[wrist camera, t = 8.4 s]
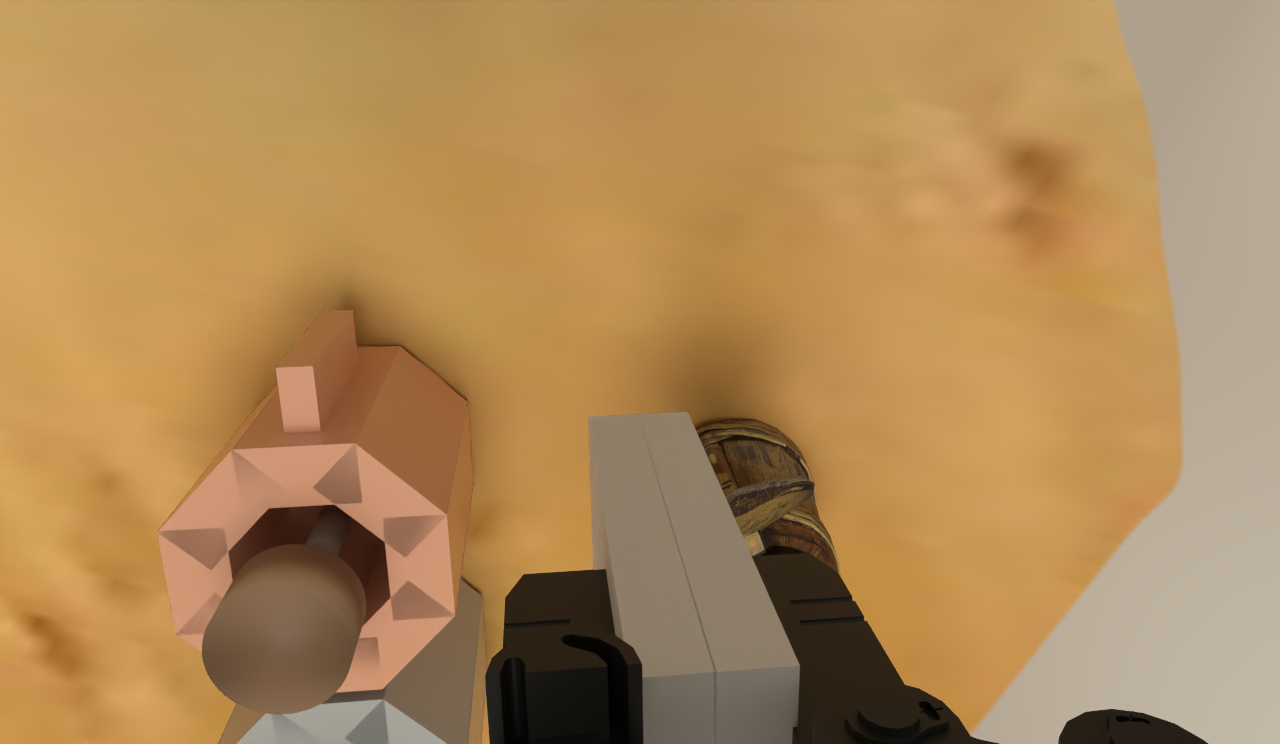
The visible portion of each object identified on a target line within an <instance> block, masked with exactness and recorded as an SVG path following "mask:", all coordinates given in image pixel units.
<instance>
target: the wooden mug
mask: <svg viewBox="0 0 1280 744" xmlns="http://www.w3.org/2000/svg"><path fill="white" fill-rule="evenodd" d="M696 432H697V434H698V436H699V438H700V441H701V443H702V445H703V448H704V450H705V452H706V454H707V457H708V459H709V461H710V463H711V466H712V468H713V470H714V472H715V475H716V477H717V479H718V481H719V484H720V486H721V488H722V491H723V493H724V495H725V497H726V500H727V502H728V504H729V506H730V509H731V511H732V513H733V515H734V518H735V520H736V522H737V524H738V527H739V529H740V531H741V533H742V536H743V538H744V540H745V543H746V545H747V547H748V549H749V552H750V554H751V556H767V555H783V554H798V553H810V554H812V555H813V556H815V557H816V558H817V559H819V560H820V561H822V562H823V563H825V564H826V565H828V566H829V567H831V568H832V569H834V570H835V571H837V572H838V574H839V575H840V569H839V562H838V559H837V556H836V553H835V549H834V546H833V543H832V540H831V537H830V535H829V533H828V532H827V530H826V528H825V526H824V525H823V523H822V522H821V521H820V518H819V514H818V511H817V507H816V504H815V503H816V494H815V488H814V485H815V483H814V481H813V478H812V476H811V473H810V471H809V468H808V466H807V464H806V462H805V460H804V458H803V456H802V454H801V452H800V451H799V450H798V448H797V447H796V445H795V444H794V443H793V442H792V441H791V440H790V439H788V438H787V437H786V436H785V435H784V434H782V433H781V432H780V431H779V430H777V429H776V428H773V427H771V426H768V425H766V424H763V423H761V422H758V421H754V420H729V421H724V422H720V423H715V424H711V425H708V426H705V427H701V428H699V429H697V430H696Z"/></svg>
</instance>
